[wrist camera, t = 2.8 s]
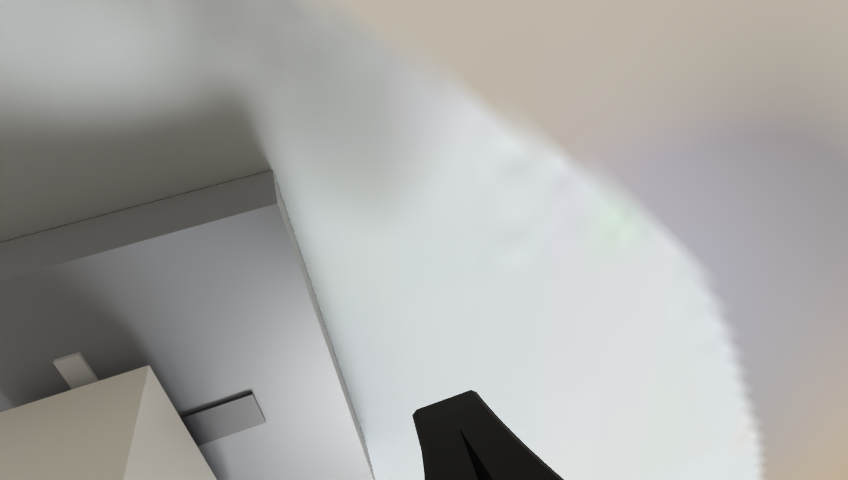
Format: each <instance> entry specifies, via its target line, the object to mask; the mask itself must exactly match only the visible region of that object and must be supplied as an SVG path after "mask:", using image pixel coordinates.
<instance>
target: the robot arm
mask: <svg viewBox="0 0 848 480" xmlns="http://www.w3.org/2000/svg"><path fill="white" fill-rule="evenodd" d="M413 419H414V423H415V427H416V431H417V435H418V438H419V442H420V446H421V450H422V457H423V465H424V473H425V480H564V479H562V478H561V477H560V476H559V475H558V474H557V473H555V472H554V471H553V470H552V469H551V468H550V467H549V466H548V465H547V464H545V463H544V462H543V461H542V460H541V459H540V458H539V457H538V456H537V455H536V454H535V453H533V452H532V451H531V450H530V449H529V448H528V447H527V446H526V445H525V444H524V443H523V442H522V441H521V440H520V439H519V438H518V437H517V436H516V435H515V434H514V433H513V432H512V431H511V430H510V429H509V428H508V427H507V426H506V425H505V424H504V423H503V422H502V421H501V420H500V419H499V418H498V417H497V416H496V415H495V414H494V412H493V411H492V410H491V409H490V408H489V407H488V406H487V404H486V403H485V402H484V401H483V400H482V399H481V397H480V396H479V395H478V394H477V392H474V391H472V390H470V391H467V392H465V393H462V394H459V395H456V396H453V397H451V398H448V399H445V400H442V401H440V402H437V403H434V404H431V405H429V406H426V407H423V408H420V409H417V410H416V411H415V413H414V414H413Z"/></svg>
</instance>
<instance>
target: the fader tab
mask: <svg viewBox="0 0 848 480" xmlns="http://www.w3.org/2000/svg"><path fill="white" fill-rule="evenodd" d="M0 480H217V479H216V477H215V476H214V474H213V472H212V471H211V469H210V467H209V466H208V464H207V462H206V461H205V459H204V457H203V455H202V454H201V452H200V450H199V449H198V447H197V445H196V444H195V442H194V440H193V438H192V437H191V435H190V433H189V432H188V430H187V428H186V427H185V425H184V423H183V422H182V420H181V418H180V416H179V415H178V413H177V411H176V410H175V408H174V406H173V405H172V403H171V401H170V400H169V398H168V396H167V394H166V393H165V391H164V389H163V388H162V386H161V384H160V383H159V381H158V379H157V378H156V376H155V374H154V372H153V371H152V369H151V367H150V366H149V365H148V366H144V367H141V368H138V369H135V370H132V371H129V372H126V373H122V374H119V375H116V376H113V377H110V378H107V379H104V380H100V381H97V382H94V383H91V384H88V385H85V386H82V387H78V388H75V389H72V390H69V391H66V392H63V393H60V394H56V395H53V396H50V397H47V398H44V399H41V400H38V401H34V402H31V403H28V404H25V405H22V406H19V407H16V408H12V409H9V410H6V411H3V412H0Z"/></svg>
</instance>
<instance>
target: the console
mask: <svg viewBox="0 0 848 480" xmlns="http://www.w3.org/2000/svg"><path fill="white" fill-rule="evenodd" d="M148 365H149V366H150V367H151V369H152V371H153V372H154V374H155V376H156V378H157V379H158V381H159V383H160V384H161V386H162V388H163V389H164V391H165V393H166V394H167V396H168V398H169V400H170V401H171V403H172V405H173V406H174V408H175V410H176V411H177V413H178V415H179V416H180V418H181V420H182V422H183V423H184V425H185V427H186V428H187V430H188V432H189V433H190V435H191V437H192V438H193V440H194V442H195V444H196V445H197V447H198V449H199V450H200V452H201V454H202V455H203V457H204V459H205V461H206V462H207V464H208V466H209V467H210V469H211V471H212V472H213V474H214V476H215V477H216V479H217V480H375V478H374V474H373V470H372V466H371V462H370V458H369V454H368V450H367V446H366V443H365V440H364V437H363V435H362V432H361V429H360V426H359V423H358V420H357V417H356V414H355V411H354V408H353V405H352V402H351V399H350V396H349V393H348V390H347V387H346V385H345V382H344V379H343V376H342V373H341V370H340V367H339V364H338V361H337V358H336V355H335V352H334V349H333V346H332V343H331V340H330V337H329V335H328V332H327V329H326V326H325V323H324V320H323V317H322V314H321V311H320V308H319V305H318V302H317V299H316V296H315V293H314V290H313V287H312V285H311V282H310V279H309V276H308V273H307V270H306V267H305V264H304V261H303V258H302V255H301V252H300V249H299V246H298V243H297V240H296V237H295V235H294V232H293V229H292V226H291V223H290V220H289V217H288V214H287V211H286V208H285V205H284V202H283V199H282V196H281V193H280V190H279V187H278V185H277V182H276V179H275V176H274V173H273V170H271V171H267V172H263V173H260V174H256V175H252V176H249V177H245V178H241V179H237V180H234V181H230V182H226V183H222V184H219V185H215V186H211V187H207V188H204V189H200V190H196V191H192V192H189V193H185V194H181V195H177V196H174V197H170V198H166V199H162V200H159V201H155V202H151V203H147V204H144V205H140V206H136V207H132V208H129V209H125V210H121V211H117V212H114V213H110V214H106V215H103V216H99V217H95V218H91V219H88V220H84V221H80V222H76V223H73V224H69V225H65V226H61V227H58V228H54V229H50V230H46V231H43V232H39V233H35V234H31V235H28V236H24V237H20V238H16V239H13V240H9V241H5V242H1V243H0V412H3V411H6V410H9V409H12V408H16V407H19V406H22V405H25V404H28V403H31V402H34V401H38V400H41V399H44V398H47V397H50V396H53V395H56V394H60V393H63V392H66V391H69V390H72V389H75V388H78V387H82V386H85V385H88V384H91V383H94V382H97V381H100V380H104V379H107V378H110V377H113V376H116V375H119V374H122V373H126V372H129V371H132V370H135V369H138V368H141V367H144V366H148Z"/></svg>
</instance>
